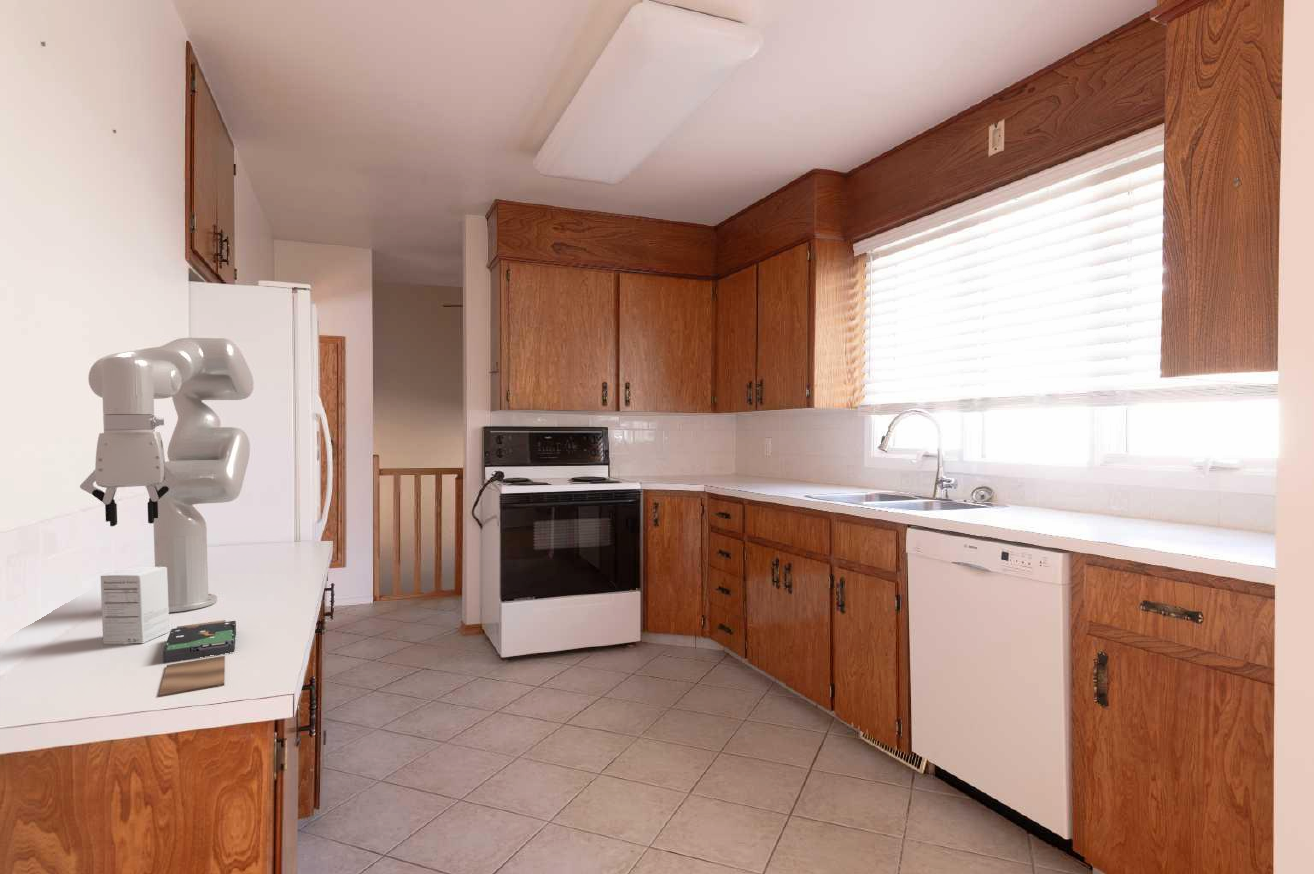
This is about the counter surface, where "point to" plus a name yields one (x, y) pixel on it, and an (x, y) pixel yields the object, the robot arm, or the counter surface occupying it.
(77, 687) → the counter surface
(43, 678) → the counter surface
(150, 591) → the supplement box
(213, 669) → the flat brown wooden pieces
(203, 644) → the disk drive
